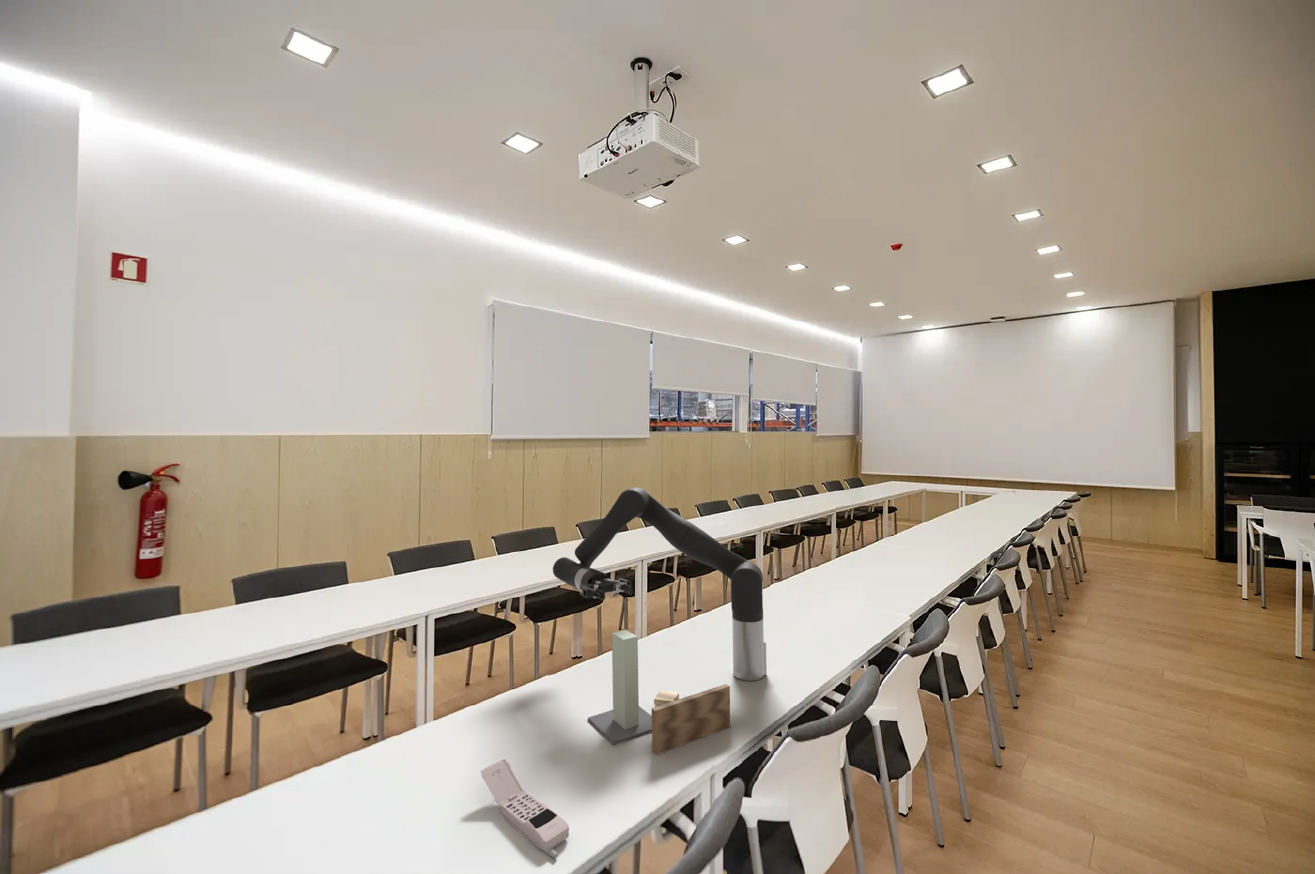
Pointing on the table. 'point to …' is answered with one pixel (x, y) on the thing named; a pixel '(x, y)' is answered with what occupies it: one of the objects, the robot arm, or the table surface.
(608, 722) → the charcoal mat
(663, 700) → the offcut stack
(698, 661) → the table surface
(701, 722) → the walnut rack
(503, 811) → the mobile phone
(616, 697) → the sage green pillar
